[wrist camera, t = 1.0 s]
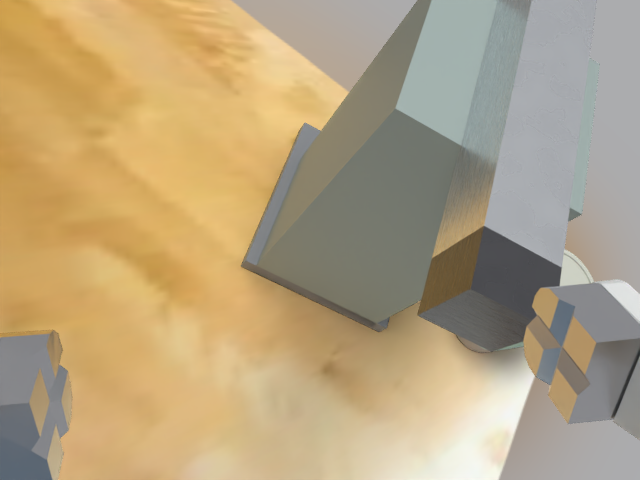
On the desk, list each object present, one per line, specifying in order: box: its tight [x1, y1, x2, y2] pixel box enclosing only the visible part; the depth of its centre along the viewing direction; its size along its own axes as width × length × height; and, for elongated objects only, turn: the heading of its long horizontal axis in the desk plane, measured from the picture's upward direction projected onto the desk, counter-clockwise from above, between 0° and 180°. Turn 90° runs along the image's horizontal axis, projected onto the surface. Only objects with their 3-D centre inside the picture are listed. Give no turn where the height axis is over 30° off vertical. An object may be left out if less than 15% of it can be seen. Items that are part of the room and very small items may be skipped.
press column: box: [241, 0, 600, 332], centre depth 47 cm, size 16×14×26 cm
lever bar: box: [418, 0, 597, 352], centre depth 31 cm, size 24×4×4 cm, turn 161°
